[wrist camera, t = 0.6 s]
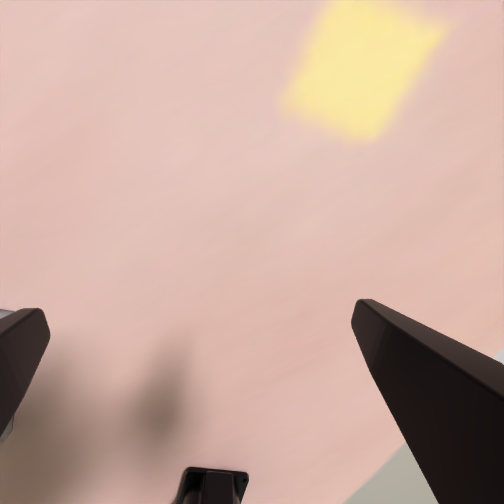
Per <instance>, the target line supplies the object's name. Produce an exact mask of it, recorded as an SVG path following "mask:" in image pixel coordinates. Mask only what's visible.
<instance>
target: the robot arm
mask: <svg viewBox="0 0 504 504" xmlns="http://www.w3.org/2000/svg"><path fill="white" fill-rule="evenodd" d="M351 326H352V329H353V332H354V334H355V337H356V339H357V342H358V344H359V346H360V349H361V351H362V354H363V356H364V359H365V361H366V364H367V366H368V368H369V371H370V373H371V375H372V377H373V379H374V381H375V383H376V385H377V387H378V389H379V391H380V392H381V394H382V396H383V398H384V400H385V402H386V404H387V406H388V408H389V410H390V412H391V413H392V415H393V417H394V419H395V421H396V423H397V425H398V427H399V429H400V431H401V433H402V435H403V436H404V438H405V440H406V442H407V444H408V446H409V448H410V450H411V452H412V453H413V456H414V457H415V459H416V461H417V463H418V465H419V467H420V469H421V471H422V473H423V475H424V477H425V478H426V480H427V482H428V484H429V486H430V488H431V490H432V492H433V494H434V496H435V498H436V499H437V501H438V503H439V504H504V365H503V364H502V363H500V362H498V361H496V360H494V359H492V358H490V357H488V356H486V355H484V354H482V353H480V352H478V351H476V350H474V349H472V348H470V347H468V346H466V345H464V344H462V343H460V342H458V341H456V340H454V339H452V338H450V337H448V336H446V335H444V334H442V333H440V332H437V331H435V330H433V329H431V328H429V327H427V326H425V325H423V324H421V323H419V322H417V321H415V320H413V319H411V318H409V317H407V316H405V315H403V314H401V313H399V312H397V311H395V310H393V309H391V308H389V307H387V306H385V305H383V304H381V303H379V302H377V301H375V300H372V299H359V300H358V301H357V302H356V305H355V308H354V312H353V316H352V319H351ZM49 340H50V330H49V327H48V324H47V321H46V318H45V314H44V312H43V311H42V309H40V308H24V309H20V310H18V311H16V312H14V313H11V314H9V315H7V316H5V317H3V318H1V319H0V438H1V436H2V434H3V432H4V431H5V429H6V427H7V425H8V424H9V422H10V420H11V419H12V417H13V415H14V413H15V412H16V410H17V408H18V406H19V405H20V403H21V401H22V399H23V397H24V395H25V393H26V391H27V389H28V387H29V385H30V383H31V381H32V378H33V376H34V374H35V372H36V369H37V367H38V365H39V363H40V361H41V358H42V356H43V354H44V352H45V349H46V347H47V345H48V343H49ZM248 482H249V475H248V474H247V473H244V472H234V471H224V470H213V469H203V468H188V469H187V470H186V473H185V477H184V480H183V483H182V487H181V490H180V494H179V497H178V501H177V504H241V501H242V498H243V495H244V493H245V490H246V487H247V484H248Z"/></svg>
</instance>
